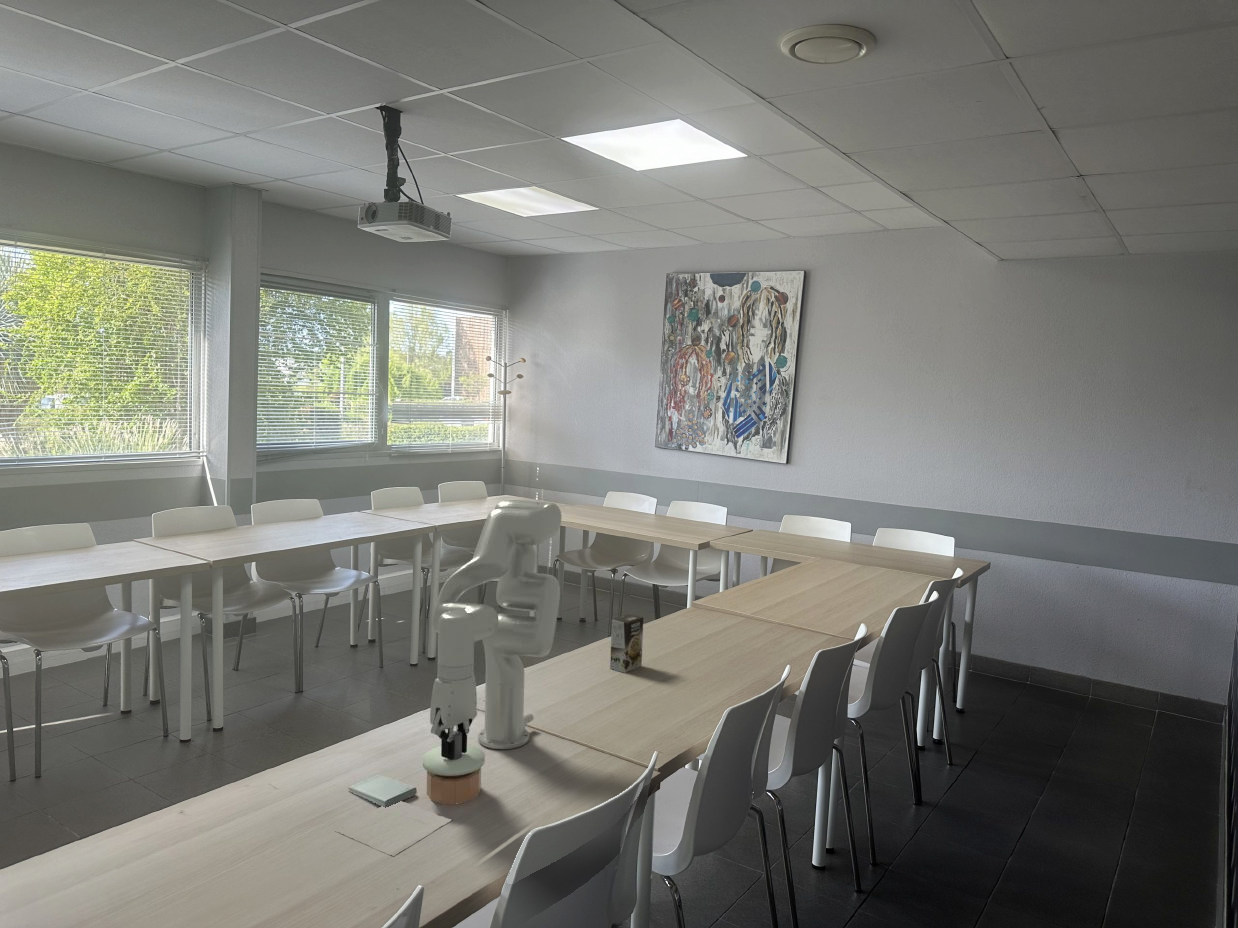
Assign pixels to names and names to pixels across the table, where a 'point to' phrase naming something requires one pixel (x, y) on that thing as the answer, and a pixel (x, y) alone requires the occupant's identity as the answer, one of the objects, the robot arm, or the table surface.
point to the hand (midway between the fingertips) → (454, 753)
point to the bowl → (453, 787)
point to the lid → (459, 764)
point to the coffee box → (626, 643)
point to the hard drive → (383, 790)
